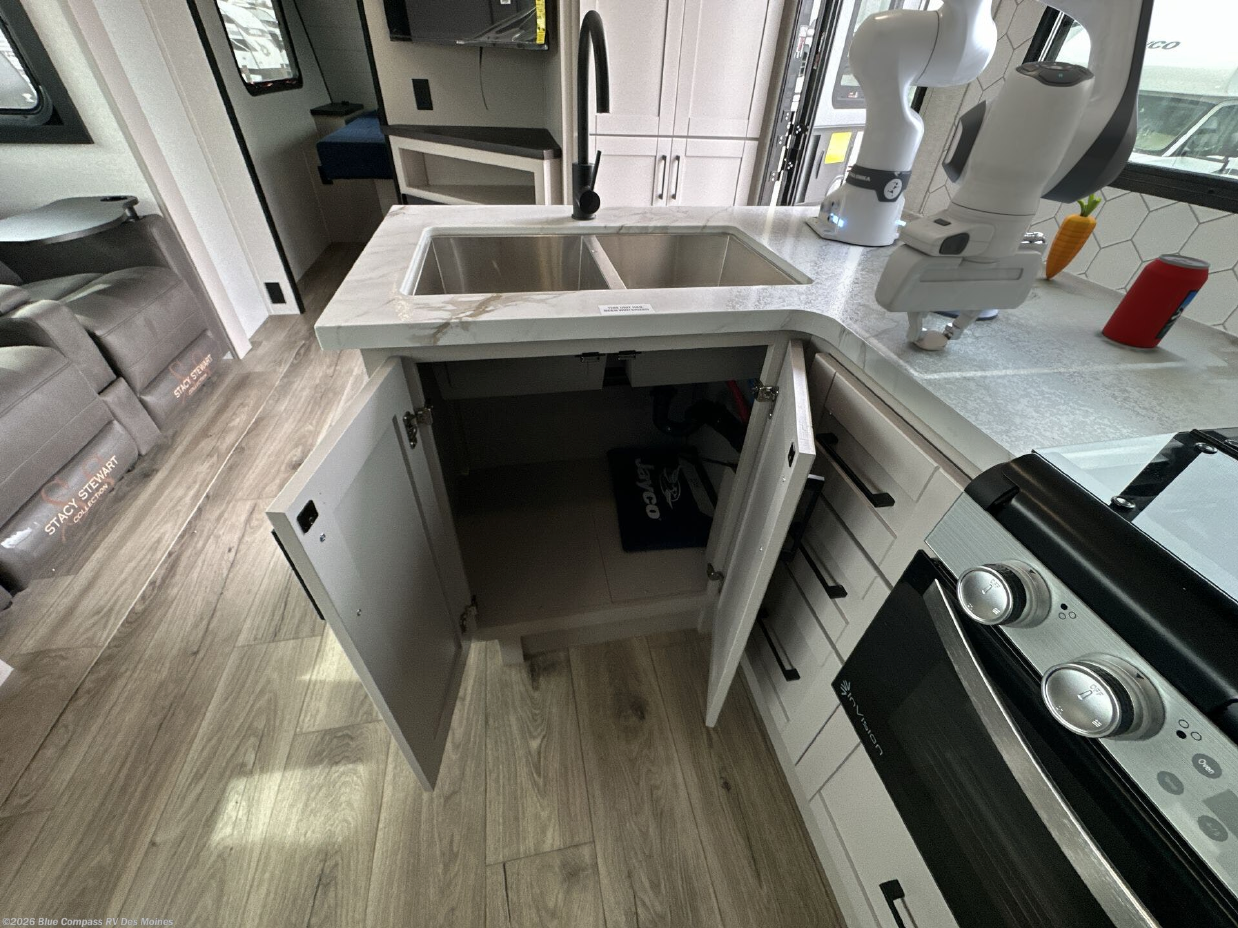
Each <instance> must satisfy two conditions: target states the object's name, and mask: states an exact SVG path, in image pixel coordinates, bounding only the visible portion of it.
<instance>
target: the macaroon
mask: <svg viewBox="0 0 1238 928" xmlns="http://www.w3.org/2000/svg"><path fill="white" fill-rule="evenodd" d="M925 329H926V330H928V331H927V333H926V335H925V336H924V339H923V341H917V342H913V343H914V345H916V346H917V347H918V348H921V349H923V350H926V351H931V352H933V351H941V350H944V348H946V346H947V344H948V341H949V340H948V339H947V338H946V337H945V336H944V335H943V332H941V331H938V330H936V329H930V328H925Z"/></svg>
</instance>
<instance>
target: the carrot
mask: <svg viewBox="0 0 1238 928" xmlns="http://www.w3.org/2000/svg"><path fill="white" fill-rule="evenodd" d="M1095 197H1096V192H1095V193H1093V194H1092V195H1090V196H1088V197H1087V198H1088V199H1087V203H1085V201H1084V200H1083V199H1081V200H1078V201H1076V202H1077V203H1078V204H1079V207H1080V213H1079V214H1070V215H1068V216H1066V217H1065V218H1063V219H1064V220H1063V221H1062V223H1061V225H1060V226H1059V228H1058V230H1057V232H1056V235H1055V237H1054V238H1053V240H1052V243H1051V246H1050V249H1049V251H1048V255H1047V258H1046V263H1045V277H1046V279H1047V280H1050V279H1052V278H1054V277H1055V276H1057V275H1058V274H1060V273H1061V272H1062V271H1063V270H1064V269H1065V268H1066V267H1067V266H1068V265H1070V264H1071V262H1072V261H1073V260H1074V259H1075V258H1076V256H1077V255H1078V254H1079V252H1080V251H1081V250H1082V248H1083V247H1084V246H1085V244H1086V243H1087V241H1088V240H1089V238H1090V236H1091V235H1092V233H1093V231H1094V230H1095V229H1096V226H1097V224H1098V223H1097V220H1096V219H1095V218H1094V217H1093V216H1091V215H1090V214H1092V213H1093V211H1095V209H1096V208H1097V207H1098V206H1099V205H1100V203H1101V202H1102V200H1103V199H1102V197H1097V198H1095Z"/></svg>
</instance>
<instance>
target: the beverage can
mask: <svg viewBox="0 0 1238 928" xmlns="http://www.w3.org/2000/svg"><path fill="white" fill-rule="evenodd" d="M1210 267H1211V263H1209V262H1207V261H1206V260H1202V259H1199V258H1196V257H1192V256H1188V255H1187V256H1186V255H1182V254H1173V253H1161V254H1160V255H1159V256H1157V258H1155V259H1153V260H1152V261H1151V262H1149V263H1148V264H1146V265H1145V266H1144V267H1143V269H1142V270H1141V272H1140V273H1139V274H1138V276H1137V278H1136V279H1135V280H1134V282H1133V283H1132V285H1131V286H1130V288H1129V289H1128V290H1127V292H1126V294H1125V295H1124V296H1123V298H1122V300H1121V301H1120V302H1119V304H1118V305H1117V307H1116V309H1115V310H1114V312H1113V313H1112V314H1111V315H1110V317H1109V319H1108V320H1107V322H1106V324H1105V325H1104V326H1103V328H1102V333H1103V335H1104V336H1105V337H1107V338H1109V339H1110V340H1112V341H1114V342H1117V343H1120V344H1123V345H1127V346H1131V347H1136V348H1143V349H1144V348H1145V349H1149V348H1154V347H1157V346H1158V345H1159V344H1160V342H1161V341H1162V340H1163V339H1164V338H1165V336H1166V335H1167V334H1168V333H1169V331H1170V330H1171V329H1172V327H1173V326H1174V325H1175V324H1176V322H1177V321H1178V320H1179V318H1180V317H1181V315H1182V314H1183V313H1184V312H1185V310H1186V309H1187V308H1188V307H1189V305H1190V304H1191V303H1192V301H1193V300H1194V298H1195V297H1196V296H1197V295H1198V293H1199V292H1200V291H1201V289H1202V288H1203V286H1204V285H1205V284H1206V283H1207V281H1208V280H1209V273H1210V272H1209V271H1210V269H1209V268H1210Z"/></svg>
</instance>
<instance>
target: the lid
mask: <svg viewBox="0 0 1238 928" xmlns="http://www.w3.org/2000/svg"><path fill="white" fill-rule="evenodd" d="M932 312H933V313H937V314H939V315H943V316H947V317H950V318H955V319H956V318H957V317H958V316H959V315H960V314H961V313H962V312H961V311H960V310H959V311H932ZM998 314H999V309H994V310H982V312H981V313H980V315H979V317H978V318H977V319H976V320H975V321H987V320H992V319H995V318H996V317H997V316H998Z"/></svg>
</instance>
